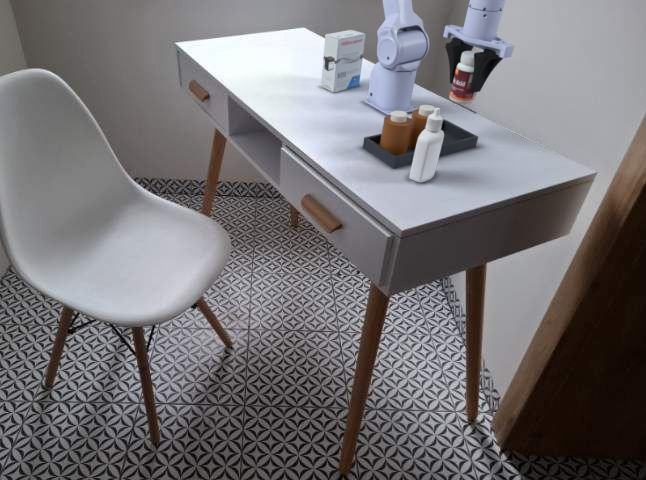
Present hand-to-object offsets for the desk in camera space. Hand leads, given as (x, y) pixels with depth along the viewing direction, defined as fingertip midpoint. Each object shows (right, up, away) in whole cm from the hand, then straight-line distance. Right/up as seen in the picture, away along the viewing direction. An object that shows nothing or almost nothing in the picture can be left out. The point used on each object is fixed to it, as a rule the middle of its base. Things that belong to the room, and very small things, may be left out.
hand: (464, 87), depth 97 cm
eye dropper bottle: (-10, -19, -8) cm, 23 cm away
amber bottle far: (-14, -13, -2) cm, 19 cm away
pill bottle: (0, -2, +2) cm, 3 cm away
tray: (-8, -11, +1) cm, 14 cm away
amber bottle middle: (-8, -11, 0) cm, 14 cm away
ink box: (-20, +9, +25) cm, 34 cm away
